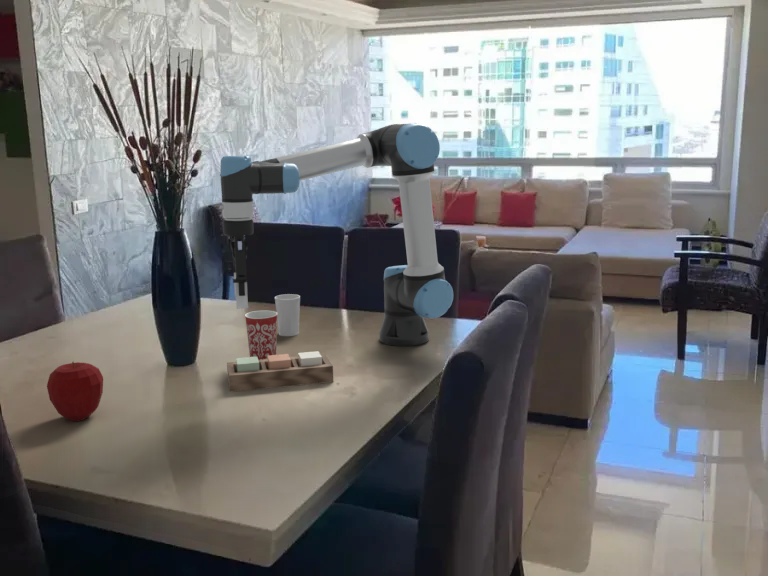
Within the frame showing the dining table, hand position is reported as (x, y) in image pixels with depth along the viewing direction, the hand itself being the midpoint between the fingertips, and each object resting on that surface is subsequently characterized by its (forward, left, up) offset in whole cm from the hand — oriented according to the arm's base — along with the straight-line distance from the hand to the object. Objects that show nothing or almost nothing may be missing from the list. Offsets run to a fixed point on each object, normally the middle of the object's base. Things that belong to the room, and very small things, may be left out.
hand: (241, 302), depth 189 cm
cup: (-17, -42, -21) cm, 50 cm away
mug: (-7, -17, -21) cm, 28 cm away
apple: (+38, +16, -21) cm, 46 cm away
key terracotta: (-9, +3, -18) cm, 20 cm away
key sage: (-1, +3, -18) cm, 18 cm away
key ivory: (-17, +3, -18) cm, 25 cm away
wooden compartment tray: (-9, +3, -21) cm, 22 cm away
